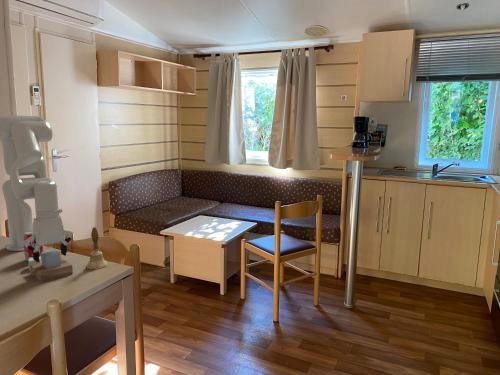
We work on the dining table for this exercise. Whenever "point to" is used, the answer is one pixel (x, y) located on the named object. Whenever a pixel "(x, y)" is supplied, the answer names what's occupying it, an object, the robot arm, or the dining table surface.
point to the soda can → (27, 251)
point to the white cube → (33, 262)
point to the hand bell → (96, 253)
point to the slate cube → (50, 258)
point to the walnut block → (51, 271)
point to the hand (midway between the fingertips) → (50, 258)
